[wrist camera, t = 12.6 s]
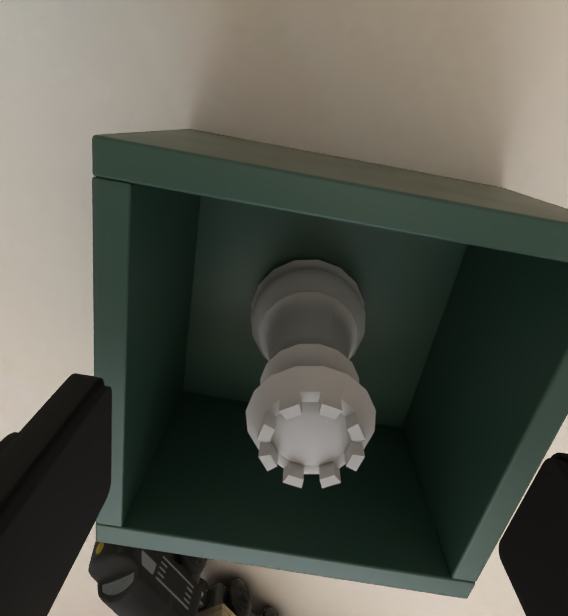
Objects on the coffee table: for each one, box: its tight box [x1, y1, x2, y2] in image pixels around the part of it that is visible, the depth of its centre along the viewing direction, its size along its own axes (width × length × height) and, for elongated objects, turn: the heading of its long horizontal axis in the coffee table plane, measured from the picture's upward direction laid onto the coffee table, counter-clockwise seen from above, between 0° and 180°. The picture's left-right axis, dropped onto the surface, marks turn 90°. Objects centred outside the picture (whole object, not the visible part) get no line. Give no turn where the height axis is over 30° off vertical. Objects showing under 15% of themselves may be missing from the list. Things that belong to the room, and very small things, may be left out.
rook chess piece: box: [246, 260, 376, 488], centre depth 13 cm, size 4×4×8 cm
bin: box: [92, 129, 568, 599], centre depth 14 cm, size 12×12×8 cm
